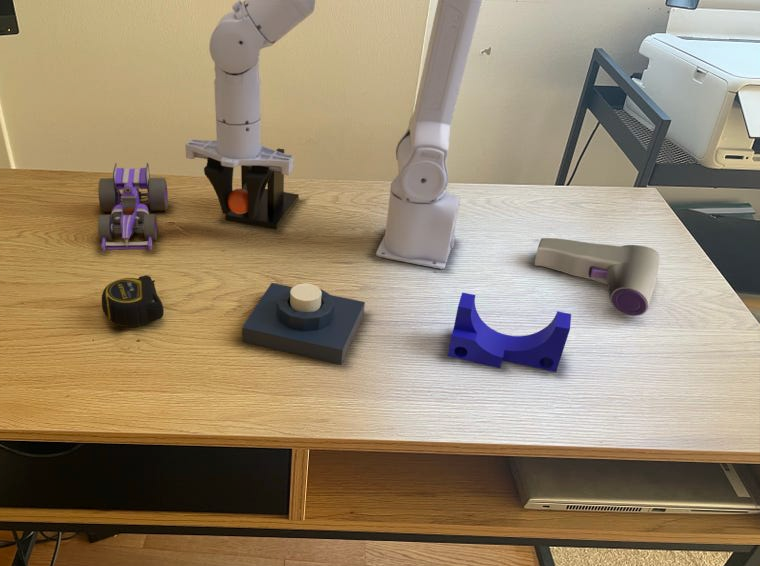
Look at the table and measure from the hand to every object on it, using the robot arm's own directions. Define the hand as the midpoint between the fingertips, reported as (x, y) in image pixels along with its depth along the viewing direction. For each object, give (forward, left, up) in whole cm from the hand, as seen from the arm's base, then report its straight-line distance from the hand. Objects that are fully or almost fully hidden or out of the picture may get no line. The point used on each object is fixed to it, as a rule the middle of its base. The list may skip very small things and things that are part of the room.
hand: (240, 213), depth 102 cm
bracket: (0, -9, -4) cm, 10 cm away
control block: (-15, +17, -4) cm, 23 cm away
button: (-15, +17, 0) cm, 23 cm away
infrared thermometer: (-47, -5, -4) cm, 48 cm away
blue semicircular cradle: (-38, +14, -4) cm, 41 cm away
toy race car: (+16, +2, -4) cm, 17 cm away
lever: (0, -5, +1) cm, 5 cm away
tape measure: (+5, +21, -4) cm, 22 cm away
